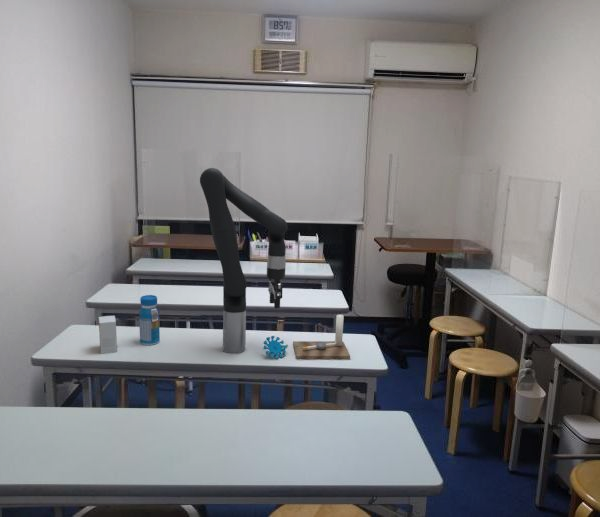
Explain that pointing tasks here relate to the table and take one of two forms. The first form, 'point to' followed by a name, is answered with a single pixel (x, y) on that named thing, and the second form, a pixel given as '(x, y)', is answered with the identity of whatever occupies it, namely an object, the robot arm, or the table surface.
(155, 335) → the beverage bottle
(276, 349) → the blue spiky ball
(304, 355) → the wooden cutting board
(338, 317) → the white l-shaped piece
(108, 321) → the small box
